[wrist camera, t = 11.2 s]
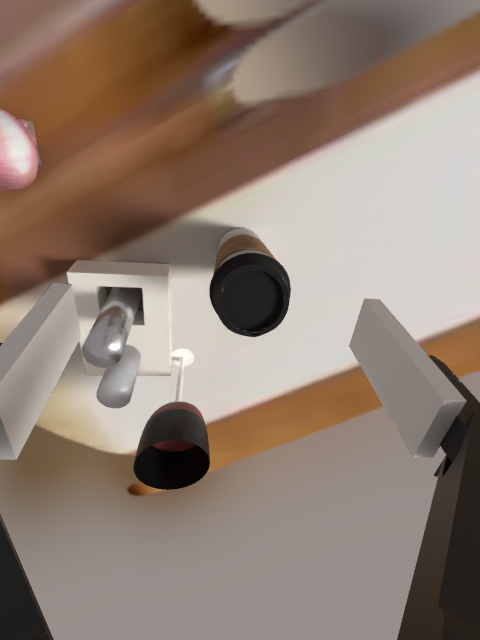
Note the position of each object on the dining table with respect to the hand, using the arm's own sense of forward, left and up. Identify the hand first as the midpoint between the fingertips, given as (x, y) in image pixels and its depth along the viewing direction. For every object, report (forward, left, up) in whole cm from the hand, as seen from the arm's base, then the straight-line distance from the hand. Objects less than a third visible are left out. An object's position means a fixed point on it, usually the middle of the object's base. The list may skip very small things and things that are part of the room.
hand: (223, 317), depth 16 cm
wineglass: (+26, -4, -32) cm, 41 cm away
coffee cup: (+8, +4, -31) cm, 32 cm away
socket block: (+18, -11, -31) cm, 38 cm away
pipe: (+15, -11, -31) cm, 36 cm away
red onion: (-3, -22, -31) cm, 38 cm away
